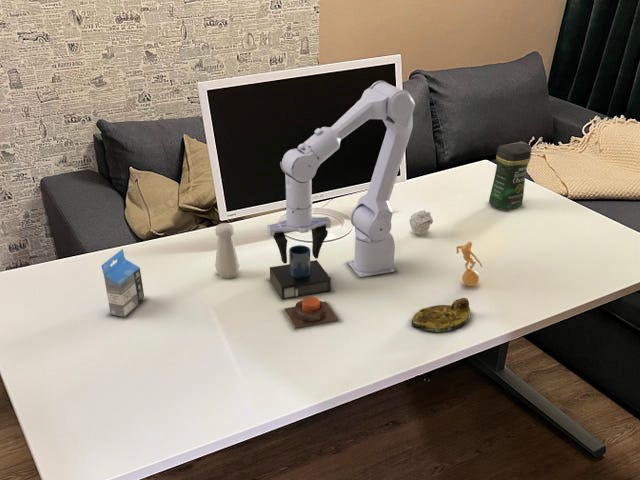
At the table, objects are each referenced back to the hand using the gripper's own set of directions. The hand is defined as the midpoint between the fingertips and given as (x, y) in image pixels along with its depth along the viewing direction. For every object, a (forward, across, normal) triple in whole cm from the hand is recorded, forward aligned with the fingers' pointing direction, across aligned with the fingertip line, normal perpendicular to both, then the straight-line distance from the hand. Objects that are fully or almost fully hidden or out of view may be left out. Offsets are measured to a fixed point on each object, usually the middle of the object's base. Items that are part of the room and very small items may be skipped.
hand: (299, 259), depth 171 cm
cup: (+4, 0, 0) cm, 4 cm away
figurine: (+7, +38, -13) cm, 41 cm away
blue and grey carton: (+7, -40, +3) cm, 41 cm away
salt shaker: (+7, -15, +11) cm, 20 cm away
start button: (+5, -2, -14) cm, 15 cm away
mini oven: (+7, 0, 0) cm, 7 cm away
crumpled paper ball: (+8, +40, +17) cm, 44 cm away
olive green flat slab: (+7, +25, -25) cm, 36 cm away
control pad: (+7, -2, -14) cm, 16 cm away
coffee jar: (+8, +73, +27) cm, 78 cm away
